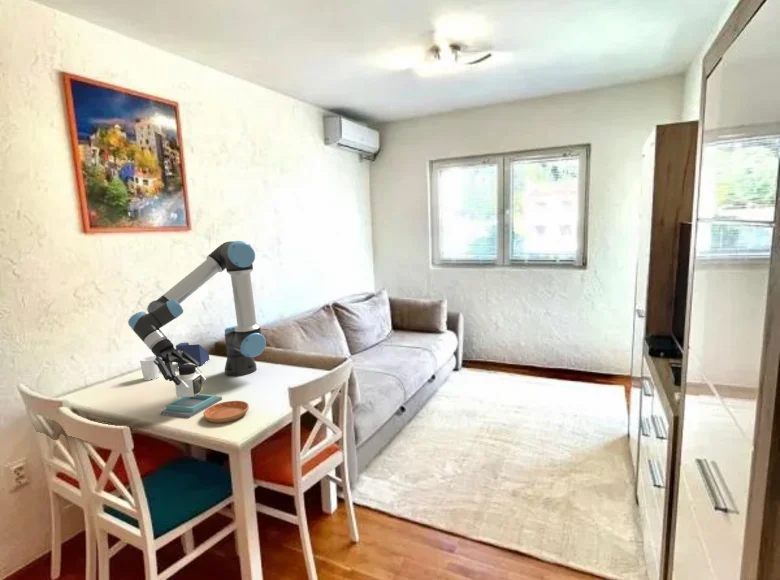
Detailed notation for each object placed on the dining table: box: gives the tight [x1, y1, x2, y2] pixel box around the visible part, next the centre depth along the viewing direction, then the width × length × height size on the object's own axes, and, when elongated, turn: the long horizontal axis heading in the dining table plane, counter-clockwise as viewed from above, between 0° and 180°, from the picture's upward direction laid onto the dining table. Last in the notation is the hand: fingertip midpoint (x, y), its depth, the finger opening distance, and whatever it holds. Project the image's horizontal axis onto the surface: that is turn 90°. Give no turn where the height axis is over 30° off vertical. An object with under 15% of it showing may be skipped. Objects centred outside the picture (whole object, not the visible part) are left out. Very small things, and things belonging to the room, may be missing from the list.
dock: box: [159, 393, 223, 418], centre depth 173 cm, size 18×14×3 cm
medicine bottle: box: [174, 363, 203, 398], centre depth 171 cm, size 7×7×12 cm
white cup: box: [139, 355, 160, 381], centre depth 212 cm, size 8×8×10 cm
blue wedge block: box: [175, 342, 210, 368], centre depth 233 cm, size 12×12×12 cm
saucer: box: [202, 400, 249, 424], centre depth 162 cm, size 16×16×3 cm
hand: (195, 385), depth 170 cm, fingers closed on medicine bottle, 9 cm apart
